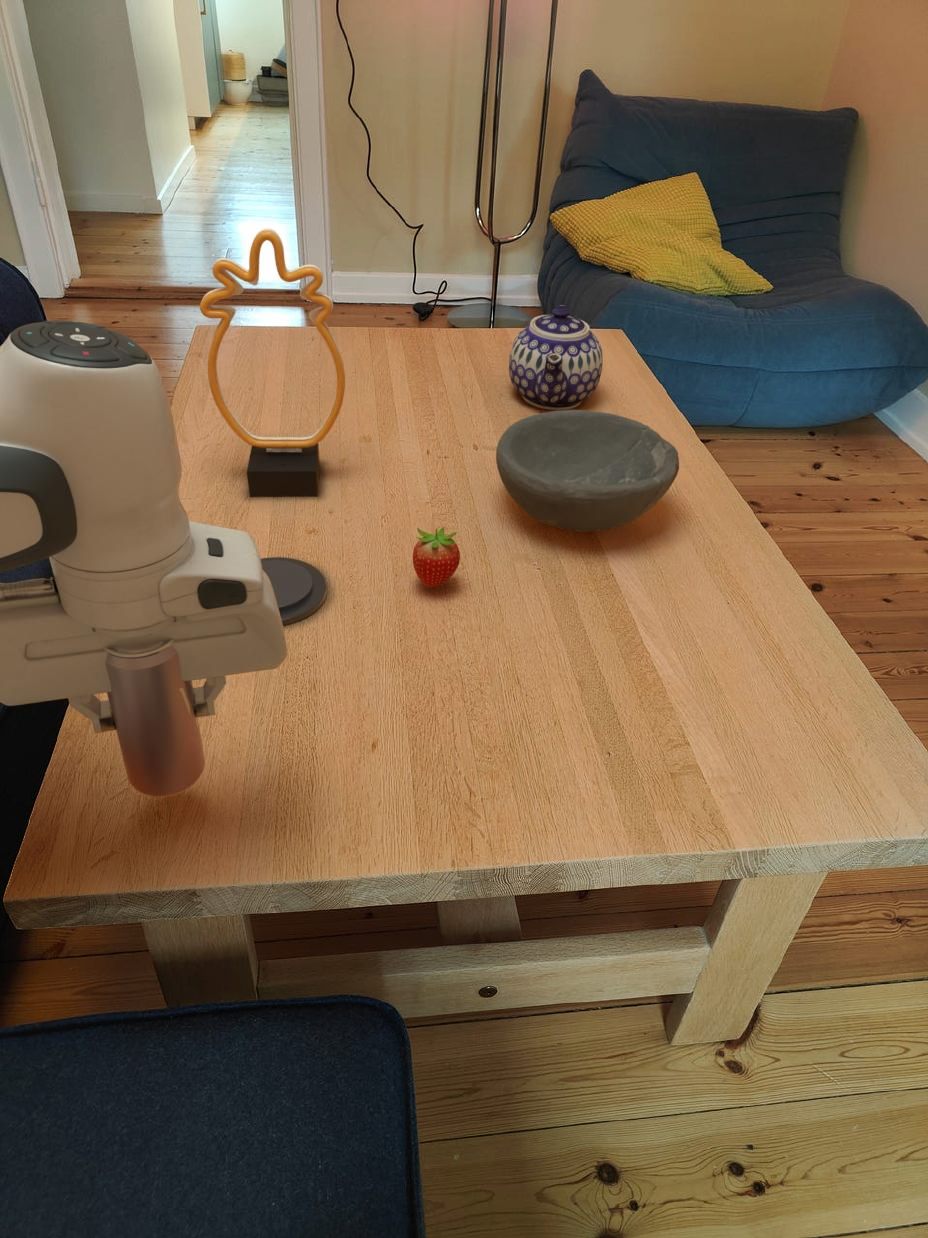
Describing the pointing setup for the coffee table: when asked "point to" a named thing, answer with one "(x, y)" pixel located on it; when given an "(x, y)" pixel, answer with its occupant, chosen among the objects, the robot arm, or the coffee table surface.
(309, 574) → the saucer
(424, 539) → the fruit
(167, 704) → the beverage can
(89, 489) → the robot arm
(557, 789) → the coffee table surface
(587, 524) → the bowl
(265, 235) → the lamp
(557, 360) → the teapot
